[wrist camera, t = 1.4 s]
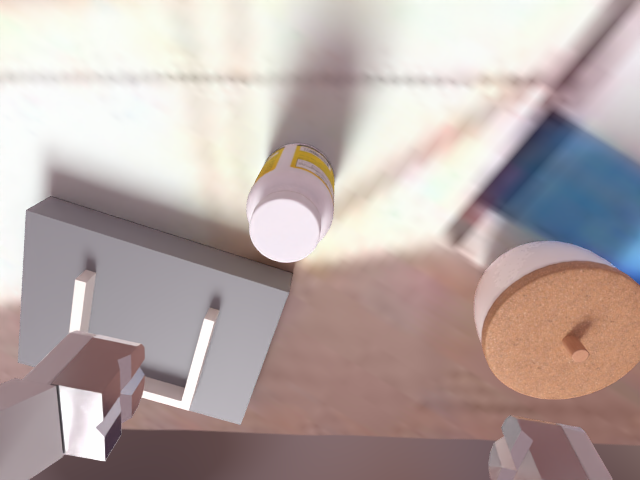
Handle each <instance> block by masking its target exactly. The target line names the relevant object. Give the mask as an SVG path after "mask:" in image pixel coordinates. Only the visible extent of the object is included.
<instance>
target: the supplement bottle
mask: <svg viewBox="0 0 640 480" xmlns="http://www.w3.org/2000/svg"><path fill="white" fill-rule="evenodd" d="M246 212H247V218H248V221H249V233H250V237H251V240H252V242H253V244H254V246H255V247H256V249H257V250H258V251H259V252H260V253H261V254H263V255H264V256H266V257H267V258H269V259H271V260H274V261H278V262H286V263H288V262H295V261H299V260H301V259H303V258H305V257H307V256H308V255H309V254H310V253H311V252H312V251H313V250H314V249H315V247H316V246H317V244H318V242H319V241H320V240H321V239H322V238H323V237H324V236H325V235H326V233H327V232H328V230H329V228H330V226H331V223H332V219H333V214H334V173H333V169H332V166H331V164H330V162H329V160H328V159H327V158H326V156H325V155H324V154H323V153H322V152H320V151H319V150H318V149H316V148H314V147H312V146H310V145H307V144H301V143H293V144H288V145H285V146H282V147H280V148H279V149H277V150H276V151H274V152H273V153H272V154H271V155H270V156H269V158H268V159H267V161H266V162H265V164H264V166H263V168H262V170H261V172H260V174H259V175H258V177H257V179H256V181H255V183H254V185H253V186H252V188H251V191H250V193H249V196H248V199H247V206H246Z"/></svg>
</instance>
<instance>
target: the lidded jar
mask: <svg viewBox="0 0 640 480" xmlns="http://www.w3.org/2000/svg"><path fill="white" fill-rule="evenodd" d="M474 319H475V324H476V329H477V333H478V336H479V339H480V341H481V344H482V348H483V352H484V355H485V357H486V360H487V362H488V365H489V367H490V369H491V370H492V372H493V373H494V375H495V376H496V377H497V378H498V379H499V380H500V381H501V382H502V383H504V384H505V385H506V386H508V387H509V388H511V389H513V390H515V391H517V392H519V393H522V394H525V395H528V396H531V397H536V398H542V399H568V398H573V397H579V396H583V395H586V394H590V393H593V392H595V391H598V390H600V389H603V388H605V387H606V386H608V385H610V384H612V383H614V382H616V381H617V380H618V379H620V378H621V377H623V376H624V375H625V374H626V373H628V372H629V371H630V370H631V369H632V368H633V367H634V366H635V365H636V364H637V363H638V362H639V360H640V285H639V284H638V283H636V282H635V281H634V280H633V279H632V278H631V277H629V276H628V275H627V274H625V273H623V272H622V271H620V270H618V269H617V268H616V267H615V266H613V265H612V264H611V263H610V262H608V261H607V260H605V259H603V258H602V257H600V256H598V255H597V254H595V253H593V252H591V251H590V250H587V249H585V248H582V247H579V246H577V245H574V244H570V243H565V242H559V241H535V242H531V243H527V244H523V245H520V246H517V247H514V248H512V249H510V250H509V251H507V252H505V253H504V254H502V255H501V256H499V257H498V258H497V259H496V260H495V261H494V262H492V263H491V265H490V266H489V267H488V268H487V269H486V271H485V272H484V274H483V275H482V277H481V279H480V281H479V283H478V286H477V289H476V293H475V298H474Z"/></svg>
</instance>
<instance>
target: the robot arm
mask: <svg viewBox="0 0 640 480" xmlns="http://www.w3.org/2000/svg"><path fill="white" fill-rule="evenodd" d="M144 359H145V347H144V346H143V345H142V344H140V343H135V342H131V341H126V340H121V339H117V338H112V337H108V336H103V335H96V334H92V333H87V332H83V331H78V330H76V331H73V332H70V333H69V334H68V335H67V336H66V337H65V338H64V339H63V340H62V341H61V342H60V343H59V344H58V345H57V346H56V347H55V348H54V349H53V350H52V351H51V352H50V353H48V354H47V355H46V356H45V357H44V358H43V359H42V360H41V361H40V362H39V363H38V364H37V365H36V366H35V367H34V368H33V369H32V370H31V371H30V372H29V373H28V374H27V375H26V376H25V377H24V378H23V379H18V378H14V379H12V380H9V381H7V382H4V383H2V384H0V480H29V479H31V478H32V477H34V476H35V475H37V474H38V473H39V472H41V471H43V470H44V469H46V468H47V467H48V466H50V465H51V464H53V463H54V462H56V461H57V460H59V459H60V458H62V457H63V454H67V455H73V456H79V457H86V458H91V459H97V460H103V461H105V460H106V458H107V457H108V455H109V454H110V452H111V450H112V449H113V447H114V445H115V444H116V442H117V440H118V439H119V437H120V436H121V423H123V422H125V421H126V420H128V419H130V418H132V416H133V414H134V413H135V411H136V409H137V408H138V405H139V403H140V400H141V397H142V395H143V390H144V384H145V374H144V373H143V371H142V370H141V369H140V365H141V364H142V362H143V361H144ZM501 428H502V431H503V434H504V437H503V438H501V439H499V440H498V441H496V442H494V445H493V447H492V450H491V452H490V458H489V475H490V480H613V479H612V477H611V476H610V474H609V472H608V470H607V468H606V467H605V465H604V463H603V462H602V460H601V458H600V456H599V455H598V453H597V451H596V449H595V448H594V446H593V444H592V443H591V441H590V439H589V437H588V436H587V434H586V432H585V431H583V430H582V429H581V428H580V427H574V426H569V425H563V424H557V423H556V424H554V423H550V422H544V421H539V420H534V419H528V418H523V417H517V416H512V415H510V416H509V417H508V418H506V419H505V421H504V423H503V425H502V427H501Z"/></svg>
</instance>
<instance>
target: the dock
mask: <svg viewBox="0 0 640 480" xmlns="http://www.w3.org/2000/svg"><path fill="white" fill-rule="evenodd" d="M292 275H293V273H290V272H287V271H284V270H281V269H278V268H274V267H271V266H268V265H265V264H262V263H259V262H256V261H252V260H249V259H246V258H243V257H240V256H237V255H234V254H230V253H227V252H224V251H221V250H218V249H215V248H212V247H208V246H205V245H202V244H199V243H196V242H193V241H190V240H186V239H183V238H180V237H177V236H174V235H171V234H168V233H164V232H161V231H158V230H155V229H152V228H149V227H146V226H142V225H139V224H136V223H133V222H130V221H127V220H124V219H120V218H117V217H114V216H111V215H108V214H105V213H102V212H98V211H95V210H92V209H89V208H86V207H83V206H80V205H76V204H73V203H70V202H67V201H64V200H61V199H58V198H55V197H51V196H50V197H48V198H47V199H45V200H43V201H41V202H40V203H38V204H36V205H34V206H33V207H31V208H29V209H27V210H26V222H25V240H24V259H23V277H22V296H21V314H20V333H19V352H18V363H22V364H25V365H29V366H32V367H35V366H36V365H37V364H38V363H39V362H40V361H41V360H42V359H43V358H44V357H45V356H46V355H47V354H48V353H50V352H51V351H52V350H53V349H54V348H55V347H56V346H57V345H58V344H59V343H60V342H61V341H62V340H63V339H64V338H65V337H66V336H67V335H68V334H69V333H70V332H73V331H76V330H78V331H83V332H87V333H92V334H96V335H103V336H108V337H112V338H117V339H121V340H126V341H131V342H135V343H140V344H142V345H143V346H144V347H145V359H144V361H143V362H142V364H141V365H140V369H141V370H142V371H143V373H144V374H145V384H144V390H143V395H142V398H146V399H149V400H153V401H157V402H160V403H164V404H167V405H171V406H174V407H178V408H182V409H185V410H189V411H193V412H197V413H200V414H204V415H207V416H211V417H214V418H218V419H222V420H225V421H229V422H232V423H236V424H239V425H241V422H242V420H243V417H244V414H245V411H246V409H247V406H248V403H249V400H250V398H251V395H252V392H253V389H254V387H255V384H256V381H257V379H258V376H259V373H260V370H261V368H262V365H263V362H264V359H265V357H266V354H267V351H268V348H269V346H270V343H271V340H272V337H273V335H274V332H275V329H276V327H277V324H278V321H279V318H280V316H281V313H282V310H283V307H284V305H285V302H286V299H287V296H288V294H289V290H290V285H291V280H292Z"/></svg>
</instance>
